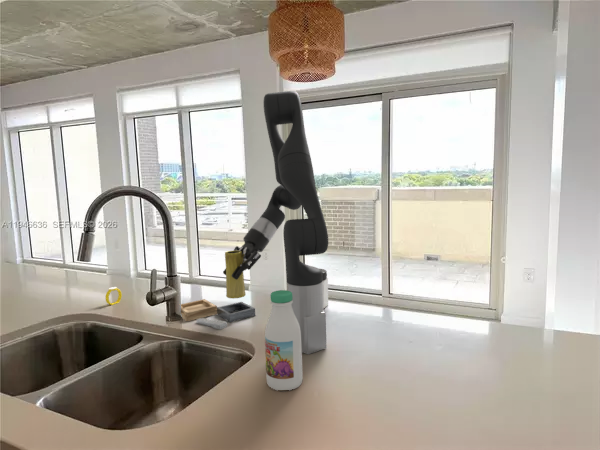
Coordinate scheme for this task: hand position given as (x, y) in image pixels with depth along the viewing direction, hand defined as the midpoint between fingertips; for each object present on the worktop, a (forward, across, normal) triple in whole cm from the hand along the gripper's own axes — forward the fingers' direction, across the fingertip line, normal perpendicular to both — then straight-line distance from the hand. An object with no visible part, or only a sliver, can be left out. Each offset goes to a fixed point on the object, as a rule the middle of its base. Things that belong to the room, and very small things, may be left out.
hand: (229, 276), depth 129 cm
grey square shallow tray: (+8, 0, +10) cm, 13 cm away
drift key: (+15, +2, +4) cm, 16 cm away
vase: (+4, 0, +6) cm, 7 cm away
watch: (+28, -41, -10) cm, 50 cm away
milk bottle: (+17, +45, +3) cm, 48 cm away
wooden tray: (+14, -11, +4) cm, 18 cm away
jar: (-9, +9, +28) cm, 31 cm away
